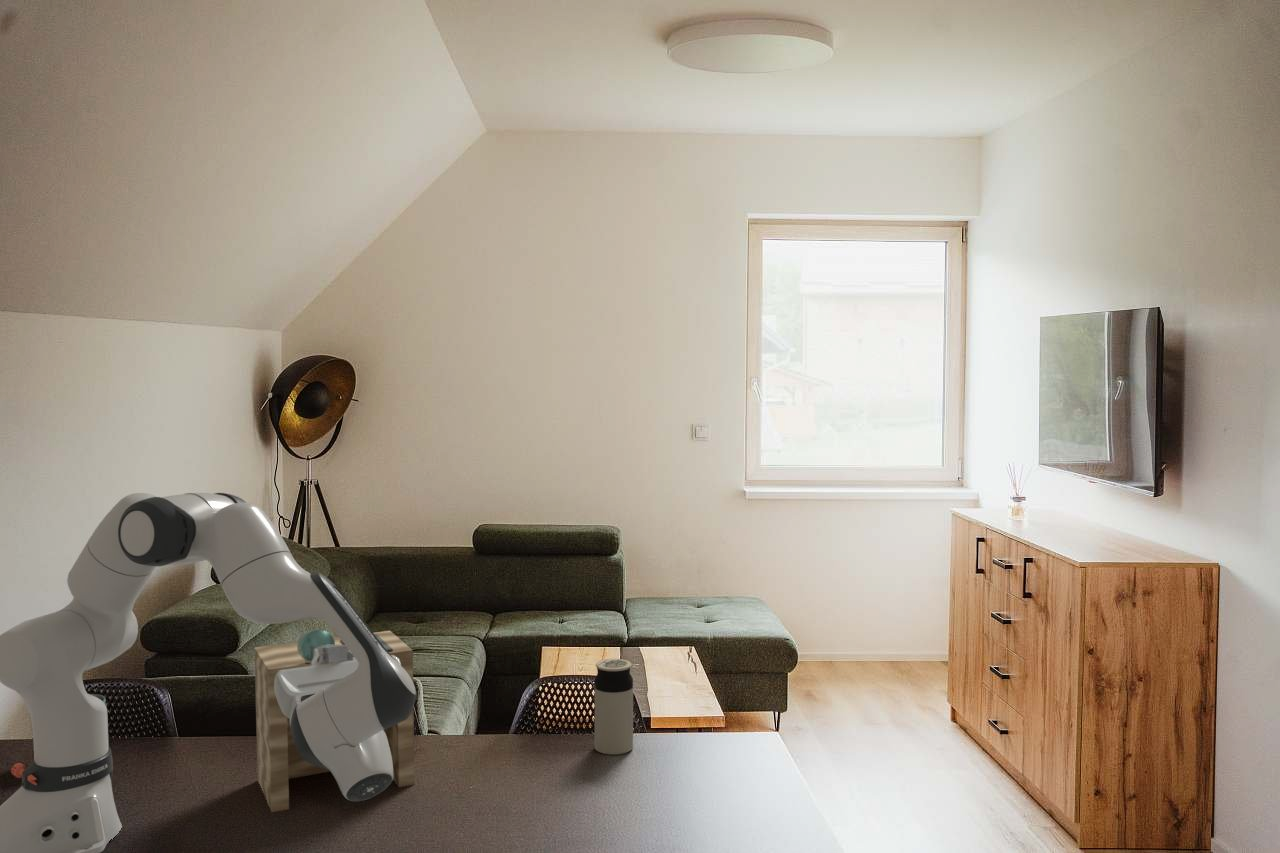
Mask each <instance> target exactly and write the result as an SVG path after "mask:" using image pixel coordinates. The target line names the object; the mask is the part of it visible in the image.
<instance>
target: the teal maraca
mask: <svg viewBox="0 0 1280 853" xmlns="http://www.w3.org/2000/svg"><path fill="white" fill-rule="evenodd" d="M333 638H334V636H333V635H332V634H331V633H330V632H328V631H326V630H323V629H312V630H307V631H306V632H305V633H303V634H302V635H301V636H300V638H299V639H298V641H297V642H298V645H297V649H298V652H299V654H300V656H301V657H302V658H303V659H305V662H306V663H311V662H312V660H313V659H314V655H313V654H314V649H317V648H323V649H324V652H325V657H324V662H320V664H321V665H322V664H330V663H337V662H344V661H347V650H346V645H335V641H334V639H333Z"/></svg>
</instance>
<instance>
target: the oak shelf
mask: <svg viewBox="0 0 1280 853" xmlns="http://www.w3.org/2000/svg"><path fill="white" fill-rule="evenodd" d="M373 633H374V635H375V636H376V637H377V639H378V640H379V641H380V642H381V644H382V645H383V646H384V648H385V649H386V650H387V651H388V652H389V654H390V655H394V656H396V657H397V658H399V660H400V663H401V666H402V667H403V668H404V669H405V671H406V672H407V673H408V674H409V676H410V677H411V679H412V681H413V682H414V662H413V660H414V659H413V656H414V655H413V649H412V648H411V647H410V646H408V645H407V644H406V643H405V642H404V641H403V640H401V638H400V637H398V636H397V635H396V634H394V632H392V631H391V630H384V631H376V632H373ZM333 639H334V641H335V645H345V644H344V643H343V641H342V640H341V639H340V637H339V636H337V637H336V636H335V637H333ZM297 645H298V641H296V642H289V643H288V642H287V643H281V644H273V645H265V646H257V647H254V673H255V674H254V676H255V677H254V679H255V680H254V681H255V682H254V683H255V723H256V724H255V726H256V727H255V728H256V763H257V764H256V765H257V782H258V785H259V784H260V785H259V787H260V786H261V787H260V789H261V788H262V789H261V791H263V792H262V793H264V794H263V796H264V795H265V796H264V798H265V800H267V801H266V803H267V805H268V807H270V808H269V809H270V812H271V813H275V812H282V811H286V810H289V809H290V790H289V787H290V784H289V780H290V778H291V779H296V778H301V776H302V777H307V776H311V775H319V774H322V773H323V774H324V773H328V772H329V773H330V772H331V771H330V770H327V769H323V768H321V767H318V766H316V765H313V764H310V763H308V762H307V761H305V760H304V759H303V758H302V756H301V755H300V754H299V752H298V751H297V749H296V746H295V743H294V740H293V737H292V733H291V728H290V719H289V718H287V717H286V716H285V715H284V714H283V713H282V711H281V709H280V706H279V704H278V701H277V698H276V695H275V690H274V680H275V676H276V674H277V673H278V672H279V671H280V670H284V669H292V668H300V667H307V666H311V663H306V662H305V659H303V658H302V657H301V656H300V654H299V652H298V649H297ZM347 661H349V660H348V659H347ZM414 726H415V725H414V708H413V709H412V711H411V713H410V715H409V717H408V719H406V720H404V721H402V722H400V723H398V724H396V725H394V726H392V727H390V728H387V729H384V732H385V734H386V736H387V740H388V743H389V747H390V751H391V756H392V763H393V780H392V781H395V782H394V783H395V784H396V786H397V787H398V788H402V787H408V786H414V785H415V736H414V735H415V730H414V729H415V728H414Z"/></svg>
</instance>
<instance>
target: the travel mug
mask: <svg viewBox="0 0 1280 853" xmlns="http://www.w3.org/2000/svg"><path fill="white" fill-rule="evenodd" d="M632 665H633V664H632V662H631V661H629V660H626V659H622V658H606V659H602V660H598V661H597V662H596V663H595V667H596V670H597V671H596V672H597V674H596V676H595V677H594V749H595V750H596V751H597V752H599V753H602V754H603V755H610V756H616V755H617V756H618V755H624V754H626V753H628V752H630V751H632V750H633V748H634V678H633V676H632V675H631V668H632Z"/></svg>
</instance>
